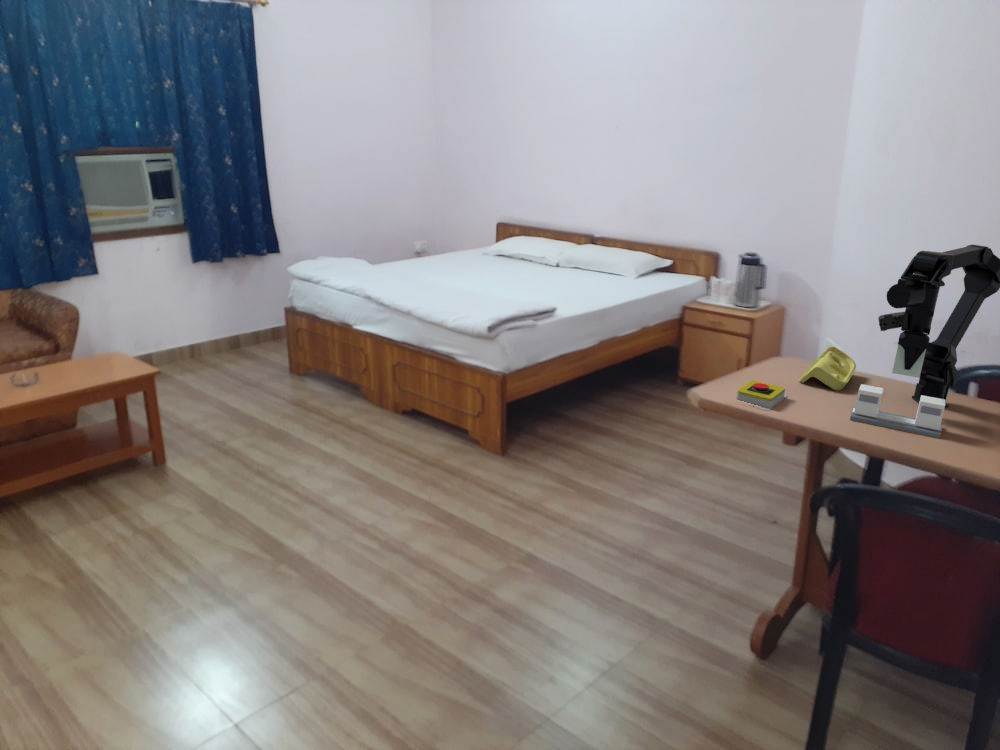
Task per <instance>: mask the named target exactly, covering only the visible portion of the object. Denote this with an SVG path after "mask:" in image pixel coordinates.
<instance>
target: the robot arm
mask: <svg viewBox="0 0 1000 750" xmlns="http://www.w3.org/2000/svg"><path fill="white" fill-rule="evenodd" d="M961 268H962V270H963V272H964V273H965V275H964V277H963V285H964V290H963V293H962V294H961V296H960V298H959V300H958V301H957V303H956V305H955V306H954V308H953V309H952V310H953V311H951V313H950V315H949V316H948V319H947V321H946V322H945V324H944V326H943V327H942V328H941V331H940V332H939V334H938V336H937V338H936V339H935V340H933V341H931V342H930V340H931V339H930V334H931V328H932V322H933V317H934V314H935V310H936V305H937V301H938V297H939V292H940V288H941V287H945V285H946V283H945V282H944V280H943V279H944V278H946V277H948V276H950V275H951V274H952V271H953V270H957V269H961ZM999 290H1000V258H999V257H998V256H997V255H996V254H994V252H993V249H992V248H991V247H989V246H985V245H979V244H968V245H966V246H964V247H959V248H955V249H951V250H946V251H943V252H940V251H930V250H921V251H918V252H916V254H915V255H914V257H912V259H911V260H910V262H909V263H908V265H907V267H906V268H905V270H904V271H903V273H902V274H901V276H900V278H898V280H897V283H895V284H893V285H892V286H890V287H889V289H888V290H887V292H886V301H887V303H888V304H889V306H890V307H892V308H893V309H894V308H895V309H904V308H905V310H904V311H899V312H893V313H891V312H890V313H885V314H882V315H879V316H878V325H879V330H880V332H886V331H887V330H893V329H899V328H900V331H901V332H900V334H899V338H898V342H897V345H898V344H899V345H901V346H902V347H903V348H904V360H905V369H906V370H910V369H911V367H912V366H913V365H914V363H915V362H916V361H917V359H918V358H919V357H920V356H921V354H922V353H923V352H924V351H925V349H926V352H925V357H924V361H923V365H922V369H921V374H920V378H918V382H917V383H916V385H915V390H914V395H911V398H912V399H913V400H914V401H915V402H917V403H919V402H920V398H921V395H923V396H929V397H934V398H940V399H945V408H947V407H949V406H950V404H948V403H947V402H946V401H947V396H948V394H949V390H950V386H951V387H954V386H955V385H956V384H957V383H958V381H959V379H960V374H959V372H958V369H957V367H956V364H957V362H958V356H957V348H958V347H959V345H960V342H961V341H962V340H963V337H964V336H965V334H966V332H967V331H968V329H969V327H970V325H971V324H972V322H973V320H974V318H975V317H976V315H977V314H978V311H979V310H980V308H981V306H982V305H983V303H984V301H986V299H987V298H989V297H991V296H992V295H994V294H996V293H998V291H999Z"/></svg>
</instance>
